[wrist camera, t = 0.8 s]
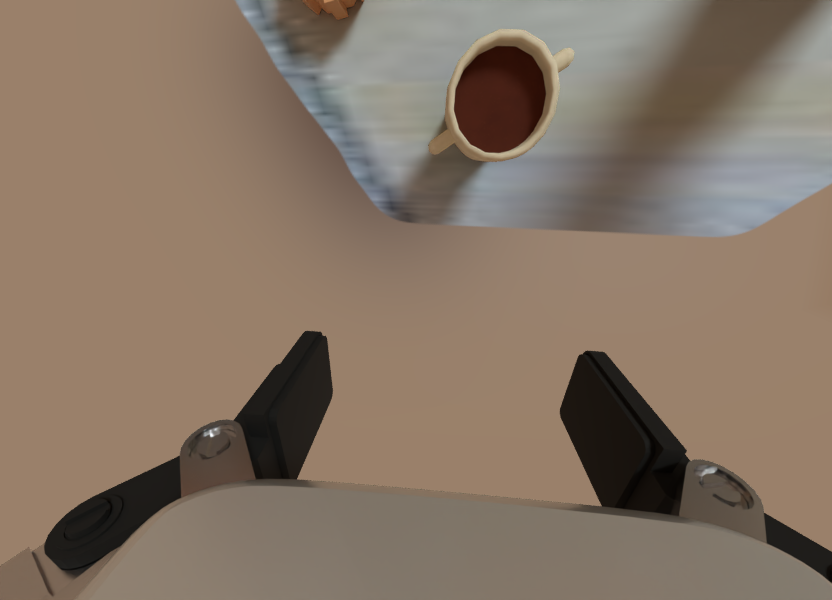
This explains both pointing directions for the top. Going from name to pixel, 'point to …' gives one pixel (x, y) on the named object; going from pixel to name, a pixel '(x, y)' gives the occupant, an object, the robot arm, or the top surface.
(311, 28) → the top surface
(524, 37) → the character mug
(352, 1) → the loose gear
